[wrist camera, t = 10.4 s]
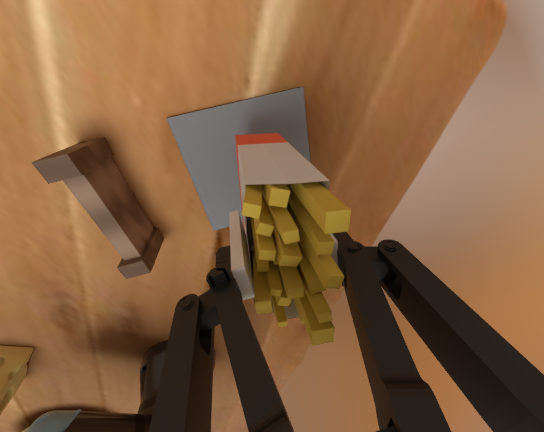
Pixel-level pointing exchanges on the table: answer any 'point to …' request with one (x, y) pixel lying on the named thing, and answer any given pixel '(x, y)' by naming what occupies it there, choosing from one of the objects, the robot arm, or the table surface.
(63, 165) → the walnut fence
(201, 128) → the slate mat
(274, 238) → the french fries container
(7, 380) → the cheese
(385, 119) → the table surface
